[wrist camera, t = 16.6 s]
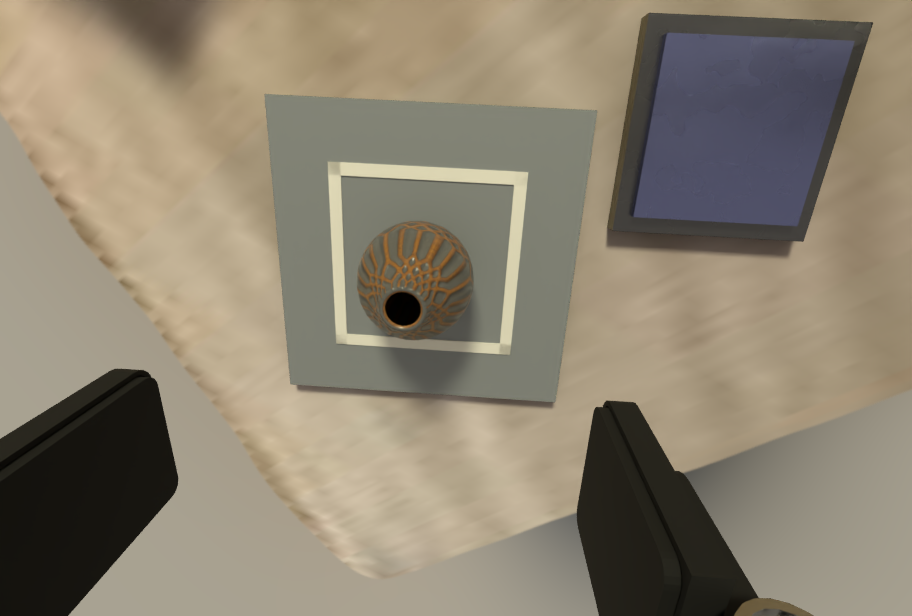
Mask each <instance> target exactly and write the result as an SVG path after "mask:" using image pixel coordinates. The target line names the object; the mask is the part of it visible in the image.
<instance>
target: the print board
mask: <svg viewBox="0 0 912 616" xmlns="http://www.w3.org/2000/svg"><path fill="white" fill-rule="evenodd" d="M265 106H266V117H267V128H268V139H269V150H270V161H271V173H272V184H273V195H274V206H275V217H276V228H277V240H278V251H279V262H280V273H281V284H282V295H283V307H284V318H285V329H286V340H287V351H288V362H289V374H290V384H293V385H308V386H322V387H337V388H352V389H367V390H381V391H396V392H411V393H426V394H440V395H455V396H470V397H485V398H499V399H514V400H529V401H544V402H555V401H556V394H557V387H558V380H559V373H560V366H561V359H562V352H563V345H564V338H565V331H566V324H567V317H568V310H569V303H570V296H571V289H572V282H573V275H574V269H575V262H576V255H577V248H578V241H579V234H580V227H581V220H582V213H583V206H584V199H585V192H586V185H587V178H588V171H589V164H590V157H591V150H592V143H593V136H594V130H595V123H596V116H597V110H577V109H557V108H537V107H516V106H496V105H476V104H455V103H435V102H415V101H394V100H374V99H354V98H333V97H313V96H293V95H272V94H265ZM406 221H426V222H431V223H434V224H437V225H439V226H441V227H443V228H445V229H447V230H448V231H450V232H451V233H452V234H454V235H455V236H456V237H457V238H458V239H459V240H460V242H461V243H462V244H463V246H464V247H465V249H466V251H467V253H468V255H469V257H470V260H471V263H472V267H473V275H474V285H473V292H472V296H471V299H470V302H469V304H468V306H467V308H466V310H465V312H464V313H463V315H462V316H461V317H460V319H459V320H458V321H457V322H456V323H455V324H454V325H453V326H452V327H450V328H449V329H448V330H446V331H445V332H443V333H441V334H439V335H437V336H434V337H432V338H428V339H423V340H405V339H400V338H396V337H394V336H391V335H389V334H387V333H385V332H384V331H382V330H381V329H379V328H378V327H377V326H376V325H375V324H374V323H373V322H372V321H371V320H370V319H369V318H368V316H367V315H366V313H365V312H364V310H363V308H362V306H361V303H360V300H359V297H358V292H357V271H358V266H359V263H360V260H361V257H362V255H363V253H364V251H365V250H366V248H367V247H368V245H369V244H370V243H371V242H372V240H373V239H374V238H375V237H376V236H378V235H379V234H380V233H381V232H383V231H384V230H386V229H387V228H389V227H391V226H394V225H396V224H399V223H402V222H406Z"/></svg>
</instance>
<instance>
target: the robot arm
mask: <svg viewBox="0 0 912 616" xmlns="http://www.w3.org/2000/svg"><path fill="white" fill-rule="evenodd" d="M177 486H178V474H177V470H176V466H175V461H174V456H173V452H172V447H171V443H170V438H169V434H168V429H167V425H166V420H165V416H164V411H163V406H162V402H161V397H160V393H159V388H158V384H157V382H156V380H155V379H154V378H151V376H150V374H149V373H148V372H146V371H144V370H131V369H114V370H111V371H109V372H108V373H106V374H104V375H103V376H101V377H100V378H98V379H96V380H95V381H93V382H91V383H90V384H88V385H87V386H85V387H83V388H82V389H80V390H78V391H77V392H75V393H74V394H72V395H70V396H69V397H67V398H66V399H64V400H62V401H61V402H60V403H58V404H56V405H54V406H53V407H51V408H49V409H48V410H46V411H45V412H43V413H41V414H40V415H38V416H37V417H35V418H33V419H32V420H30V421H28V422H27V423H25V424H24V425H22V426H20V427H19V428H17V429H16V430H14V431H12V432H11V433H9V434H7V435H6V436H4V437H3V438H1V439H0V616H68V615H69V614H70V613H71V611H72V610H73V609H74V608H75V607H76V606H77V605H78V604H79V603H80V601H81V600H82V599H83V598H84V597H85V596H86V595H87V593H88V592H89V591H90V590H91V589H92V588H93V587H94V585H95V584H96V583H97V582H98V581H99V580H100V579H101V577H102V576H103V575H104V574H105V573H106V572H107V571H108V569H109V568H110V567H111V566H112V565H113V563H114V562H115V561H116V560H117V559H118V558H119V557H120V556H121V554H122V553H123V552H124V551H125V550H126V549H127V548H128V546H129V545H130V544H131V543H132V542H133V541H134V540H135V538H136V537H137V536H138V535H139V534H140V533H141V532H142V531H143V529H144V528H145V527H146V526H147V525H148V524H149V523H150V521H151V520H152V519H153V518H154V517H155V515H156V514H157V513H158V512H159V511H160V510H161V509H162V508H163V506H164V505H165V504H166V503H167V502H168V501H169V500H170V498H171V497H172V496H173V495H174V493H175V491H176V489H177ZM577 523H578V529H579V533H580V538H581V542H582V546H583V550H584V554H585V559H586V563H587V567H588V571H589V575H590V579H591V584H592V588H593V592H594V596H595V600H596V604H597V608H598V612H599V616H813V615H812V614H810V613H808V612H806V611H804V610H802V609H800V608H798V607H796V606H794V605H791V604H790V603H786V602H782V601H779V600H774V599H771V598H758V596H757V594H756V593H755V591H754V589H753V588H752V586H751V584H750V583H749V581H748V579H747V578H746V576H745V574H744V573H743V571H742V569H741V568H740V566H739V564H738V563H737V561H736V559H735V557H734V556H733V554H732V552H731V551H730V549H729V547H728V546H727V544H726V542H725V541H724V539H723V538H722V536H721V534H720V532H719V531H718V529H717V527H716V526H715V524H714V522H713V520H712V519H711V517H710V516H709V514H708V512H707V511H706V509H705V507H704V505H703V504H702V502H701V500H700V499H699V497H698V495H697V494H696V492H695V490H694V489H693V487H692V485H691V484H690V482H689V480H688V479H687V478H686V476H685V475H684V474H683V473H681V472H679V471H674V469H673V467H672V465H671V464H670V462H669V460H668V458H667V457H666V455H665V453H664V451H663V450H662V448H661V446H660V444H659V443H658V441H657V439H656V437H655V436H654V434H653V432H652V430H651V429H650V427H649V425H648V423H647V422H646V420H645V418H644V416H643V415H642V413H641V411H640V409H639V408H638V406H637V405H636V403H634V402H620V401H606V402H605V403H604V405H603V407H596V408H595V410H594V413H593V419H592V425H591V431H590V436H589V442H588V448H587V454H586V460H585V466H584V472H583V477H582V483H581V489H580V495H579V501H578V507H577Z"/></svg>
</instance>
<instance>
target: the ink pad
mask: <svg viewBox="0 0 912 616" xmlns="http://www.w3.org/2000/svg"><path fill="white" fill-rule="evenodd" d="M872 25H873V22H850V21H826V20H803V19H780V18H756V17H733V16H710V15H687V14H663V13H648V14H647V15H646V16H644V17H643V18H642V20H641V26H640V32H639V38H638V44H637V50H636V56H635V63H634V69H633V75H632V81H631V87H630V93H629V99H628V105H627V111H626V117H625V123H624V129H623V135H622V142H621V148H620V154H619V160H618V166H617V172H616V178H615V184H614V190H613V196H612V202H611V208H610V214H609V220H608V228H609V229H611V230H612V231H626V232H644V233H661V234H679V235H697V236H714V237H732V238H749V239H767V240H785V241H802V242H803V241H804V238H805V235H806V232H807V229H808V225H809V222H810V219H811V216H812V213H813V210H814V207H815V203H816V200H817V197H818V194H819V191H820V188H821V185H822V181H823V178H824V175H825V172H826V169H827V166H828V163H829V159H830V156H831V153H832V150H833V147H834V144H835V141H836V138H837V134H838V131H839V128H840V125H841V122H842V119H843V116H844V112H845V109H846V106H847V103H848V100H849V97H850V94H851V90H852V87H853V84H854V81H855V78H856V75H857V72H858V68H859V65H860V62H861V59H862V56H863V53H864V50H865V46H866V43H867V40H868V37H869V34H870V31H871V28H872Z"/></svg>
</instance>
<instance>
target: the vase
mask: <svg viewBox="0 0 912 616" xmlns="http://www.w3.org/2000/svg"><path fill="white" fill-rule="evenodd" d="M473 285H474V275H473V267H472V263H471V260H470V257H469V255H468V253H467V251H466V249H465V247H464V246H463V244H462V243H461V242H460V240H459V239H458V238H457V237H456V236H455V235H454V234H452V233H451V232H450V231H448V230H447V229H445V228H443V227H441V226H439V225H437V224H434V223H431V222H426V221H406V222H402V223H399V224H396V225H394V226H391V227H389V228H387V229H386V230H384V231H383V232H381V233H380V234H379V235H378V236H376V237H375V238H374V239H373V240H372V242H371V243H370V244H369V245H368V247H367V248H366V250H365V251H364V253H363V255H362V257H361V260H360V263H359V266H358V271H357V292H358V297H359V300H360V303H361V306H362V308H363V310H364V312H365V313H366V315H367V316H368V318H369V319H370V320H371V321H372V322H373V323H374V324H375V325H376V326H377V327H378V328H379V329H381V330H382V331H384V332H385V333H387V334H389V335H391V336H394V337H396V338H400V339H405V340H423V339H428V338H432V337H434V336H437V335H439V334H441V333H443V332H445V331H446V330H448V329H449V328H450V327H452V326H453V325H454V324H455V323H456V322H457V321H458V320H459V319H460V317H461V316H462V315H463V313H464V312H465V310H466V308H467V306H468V304H469V302H470V299H471V296H472V292H473Z"/></svg>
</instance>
